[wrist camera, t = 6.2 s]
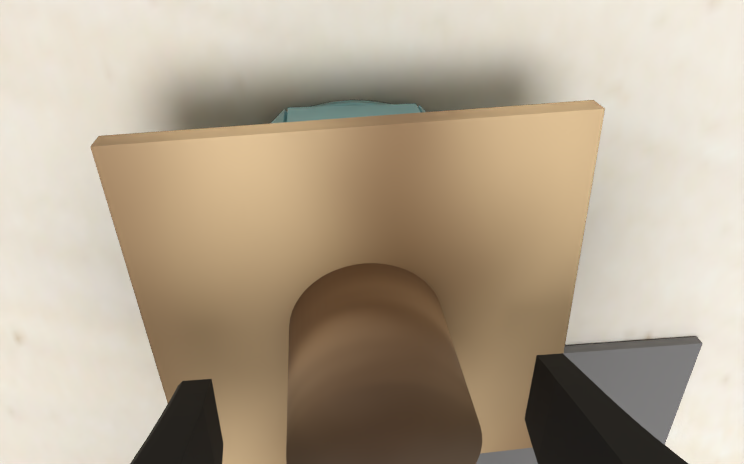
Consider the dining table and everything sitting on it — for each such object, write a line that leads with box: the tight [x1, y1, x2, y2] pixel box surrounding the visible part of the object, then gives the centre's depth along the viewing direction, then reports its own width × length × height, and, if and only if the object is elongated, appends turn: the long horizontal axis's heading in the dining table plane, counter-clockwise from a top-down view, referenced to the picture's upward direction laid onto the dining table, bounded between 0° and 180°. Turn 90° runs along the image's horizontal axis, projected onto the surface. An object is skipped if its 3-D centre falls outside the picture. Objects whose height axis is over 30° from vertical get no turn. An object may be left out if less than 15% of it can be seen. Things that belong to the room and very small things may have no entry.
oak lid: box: [91, 100, 605, 464], centre depth 14 cm, size 11×11×5 cm
